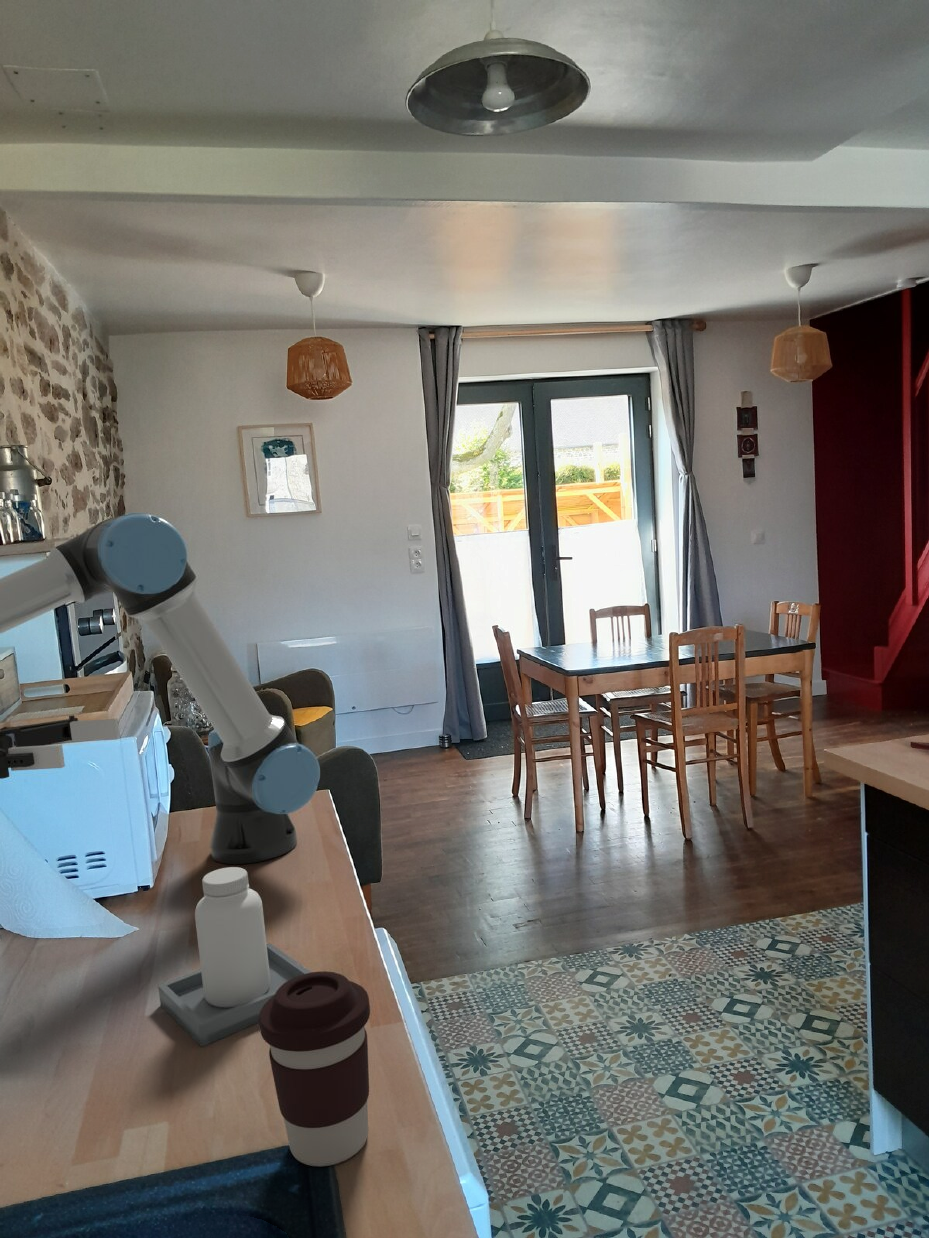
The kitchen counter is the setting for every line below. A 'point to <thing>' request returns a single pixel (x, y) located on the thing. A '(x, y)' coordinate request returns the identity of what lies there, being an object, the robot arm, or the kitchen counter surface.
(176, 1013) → the tray
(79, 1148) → the kitchen counter surface
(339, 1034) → the coffee cup
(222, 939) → the pill bottle
